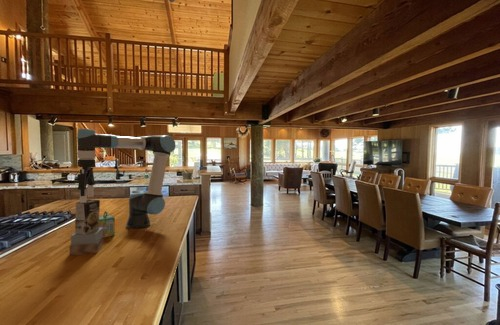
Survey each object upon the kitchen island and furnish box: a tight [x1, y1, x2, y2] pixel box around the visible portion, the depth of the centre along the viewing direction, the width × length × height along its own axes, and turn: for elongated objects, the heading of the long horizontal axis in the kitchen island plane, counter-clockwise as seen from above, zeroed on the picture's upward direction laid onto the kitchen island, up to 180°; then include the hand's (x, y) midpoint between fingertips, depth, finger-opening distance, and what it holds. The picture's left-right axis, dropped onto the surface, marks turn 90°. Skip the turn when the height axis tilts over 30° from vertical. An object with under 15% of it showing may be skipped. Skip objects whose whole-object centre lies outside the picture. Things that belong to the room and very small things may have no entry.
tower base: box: [68, 237, 104, 256], centre depth 126 cm, size 12×12×5 cm
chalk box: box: [99, 210, 116, 239], centre depth 146 cm, size 9×9×15 cm
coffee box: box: [74, 199, 101, 235], centre depth 125 cm, size 9×6×16 cm
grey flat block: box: [70, 227, 103, 245], centre depth 126 cm, size 11×11×5 cm
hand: (87, 199), depth 124 cm, fingers open, 13 cm apart
